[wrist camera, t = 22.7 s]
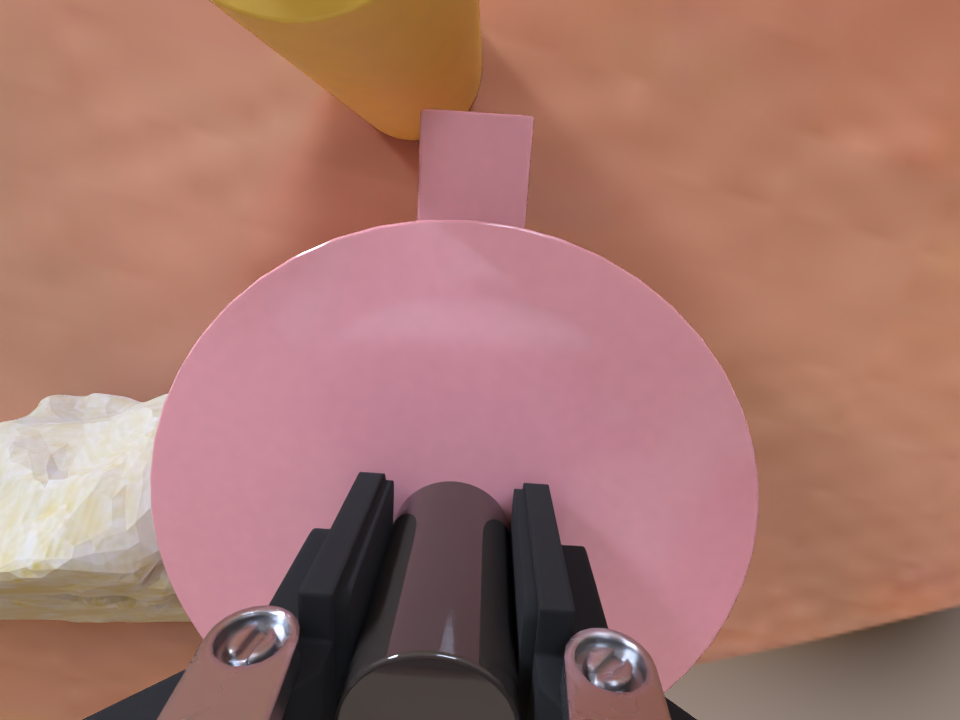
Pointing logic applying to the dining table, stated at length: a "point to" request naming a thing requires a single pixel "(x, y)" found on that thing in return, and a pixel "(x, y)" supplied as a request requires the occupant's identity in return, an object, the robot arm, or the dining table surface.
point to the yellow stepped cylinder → (376, 52)
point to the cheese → (82, 514)
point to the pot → (474, 166)
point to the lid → (457, 452)
